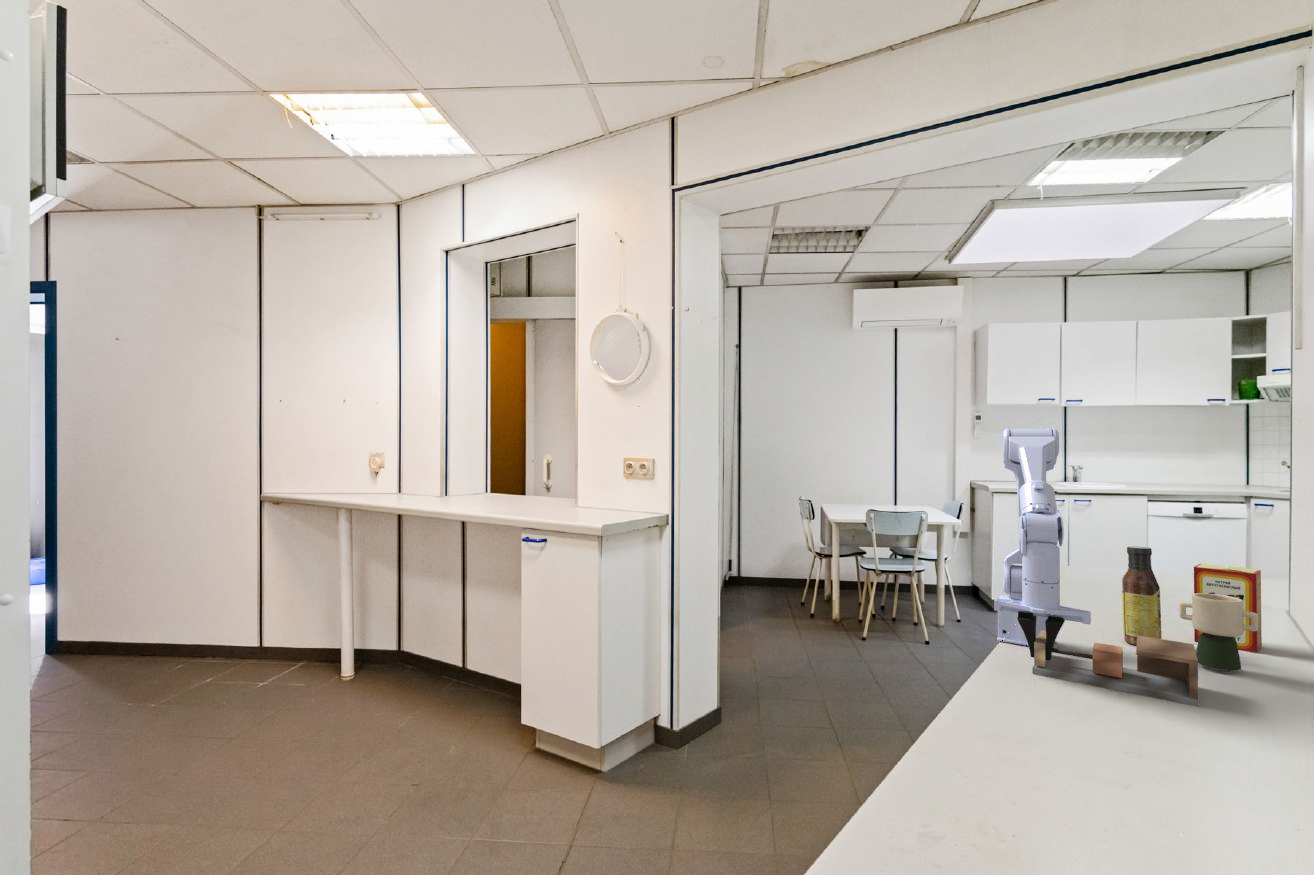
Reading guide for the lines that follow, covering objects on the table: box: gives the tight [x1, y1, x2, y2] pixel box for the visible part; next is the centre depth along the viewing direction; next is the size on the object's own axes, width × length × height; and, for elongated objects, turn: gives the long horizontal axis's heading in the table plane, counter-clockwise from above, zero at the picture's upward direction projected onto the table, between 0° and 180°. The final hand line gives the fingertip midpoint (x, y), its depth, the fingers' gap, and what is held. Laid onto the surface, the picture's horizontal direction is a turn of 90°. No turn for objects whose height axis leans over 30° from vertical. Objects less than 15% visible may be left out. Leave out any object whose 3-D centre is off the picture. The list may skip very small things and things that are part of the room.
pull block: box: [1033, 630, 1124, 678], centre depth 109 cm, size 12×10×4 cm
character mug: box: [1178, 593, 1258, 672], centre depth 113 cm, size 11×7×13 cm, turn 36°
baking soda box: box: [1193, 563, 1263, 654], centre depth 129 cm, size 10×6×16 cm
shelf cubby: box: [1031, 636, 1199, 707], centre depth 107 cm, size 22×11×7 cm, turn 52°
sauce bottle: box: [1121, 545, 1162, 647], centre depth 128 cm, size 6×6×20 cm
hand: (1040, 657), depth 110 cm, fingers closed on pull block, 2 cm apart
